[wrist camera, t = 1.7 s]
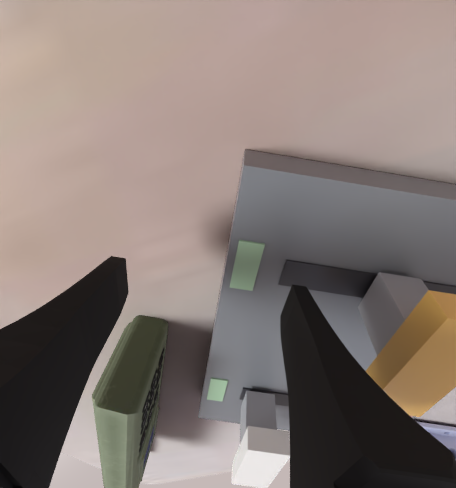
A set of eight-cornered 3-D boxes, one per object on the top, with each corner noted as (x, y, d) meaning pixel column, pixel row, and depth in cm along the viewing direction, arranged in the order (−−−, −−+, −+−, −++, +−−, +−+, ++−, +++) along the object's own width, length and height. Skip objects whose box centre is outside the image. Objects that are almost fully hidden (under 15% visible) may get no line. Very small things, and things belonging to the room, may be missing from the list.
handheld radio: (176, 318, 20) (154, 450, 35) (130, 308, 20) (127, 444, 35) (143, 419, 15) (133, 525, 29) (80, 405, 15) (101, 519, 29)
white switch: (284, 381, 19) (290, 455, 16) (264, 421, 23) (266, 488, 19) (248, 376, 19) (247, 449, 16) (234, 416, 23) (231, 484, 19)
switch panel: (587, 206, 13) (637, 231, 12) (376, 418, 26) (384, 445, 24) (245, 149, 13) (243, 166, 11) (201, 393, 26) (197, 419, 24)
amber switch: (448, 248, 12) (523, 329, 9) (383, 335, 16) (419, 417, 12) (393, 239, 12) (447, 317, 9) (340, 328, 16) (365, 409, 12)
